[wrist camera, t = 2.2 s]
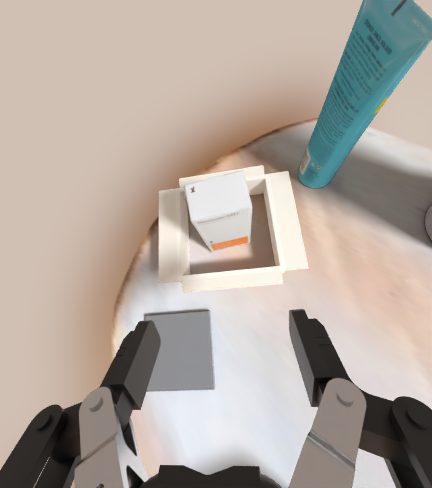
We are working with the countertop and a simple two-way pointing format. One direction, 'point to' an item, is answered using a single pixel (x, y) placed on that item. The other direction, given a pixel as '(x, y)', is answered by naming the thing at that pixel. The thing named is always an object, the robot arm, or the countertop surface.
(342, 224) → the countertop surface
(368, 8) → the tube
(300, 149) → the countertop surface
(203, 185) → the skincare box
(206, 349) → the coaster
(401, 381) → the countertop surface
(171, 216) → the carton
